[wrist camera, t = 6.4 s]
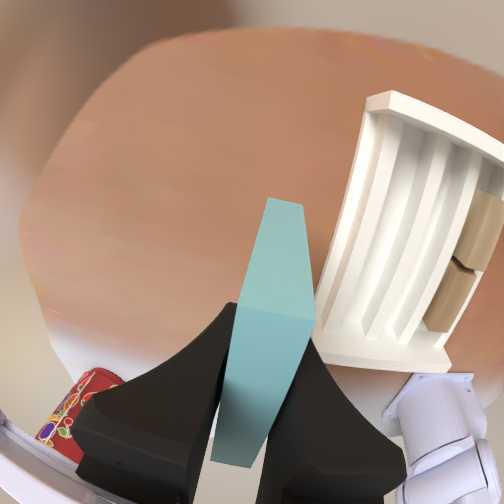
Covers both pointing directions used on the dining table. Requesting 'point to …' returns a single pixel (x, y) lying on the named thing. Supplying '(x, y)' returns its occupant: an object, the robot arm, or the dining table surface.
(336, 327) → the rack
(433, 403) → the robot arm
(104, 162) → the dining table surface
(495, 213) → the offcut
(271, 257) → the teal square slab
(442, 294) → the offcut
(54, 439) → the smoothie
